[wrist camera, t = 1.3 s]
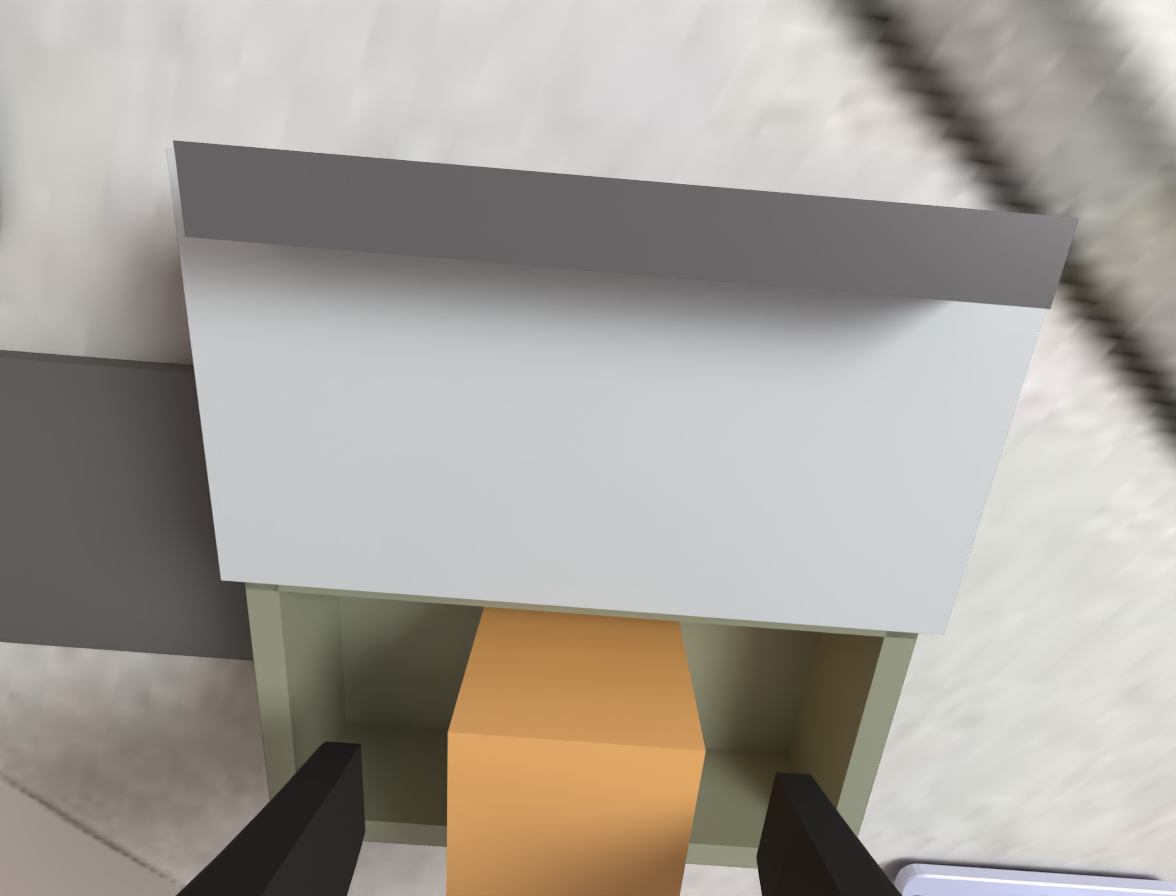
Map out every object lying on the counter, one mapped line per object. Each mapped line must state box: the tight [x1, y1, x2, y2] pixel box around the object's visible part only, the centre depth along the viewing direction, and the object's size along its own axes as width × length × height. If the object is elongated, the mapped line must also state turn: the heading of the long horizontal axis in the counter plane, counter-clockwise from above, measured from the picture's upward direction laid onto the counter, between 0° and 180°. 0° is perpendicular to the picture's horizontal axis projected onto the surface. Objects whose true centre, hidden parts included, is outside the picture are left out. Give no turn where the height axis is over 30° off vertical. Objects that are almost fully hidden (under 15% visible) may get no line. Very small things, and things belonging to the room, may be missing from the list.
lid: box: [166, 141, 1079, 635], centre depth 9 cm, size 7×12×2 cm, turn 85°
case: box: [245, 582, 918, 869], centre depth 13 cm, size 13×12×3 cm
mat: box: [0, 350, 254, 661], centre depth 15 cm, size 7×7×1 cm
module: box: [446, 607, 706, 896], centre depth 13 cm, size 4×4×5 cm
